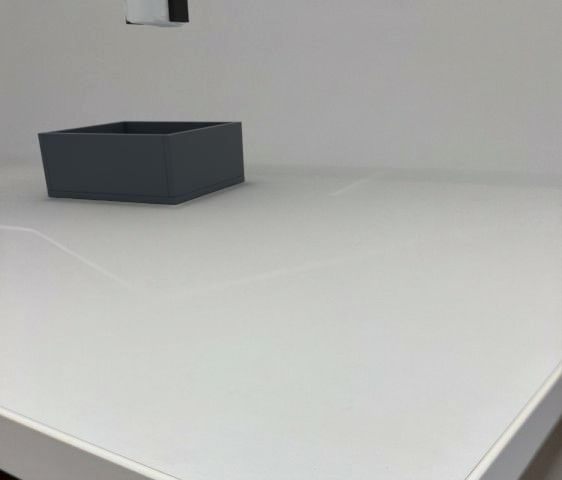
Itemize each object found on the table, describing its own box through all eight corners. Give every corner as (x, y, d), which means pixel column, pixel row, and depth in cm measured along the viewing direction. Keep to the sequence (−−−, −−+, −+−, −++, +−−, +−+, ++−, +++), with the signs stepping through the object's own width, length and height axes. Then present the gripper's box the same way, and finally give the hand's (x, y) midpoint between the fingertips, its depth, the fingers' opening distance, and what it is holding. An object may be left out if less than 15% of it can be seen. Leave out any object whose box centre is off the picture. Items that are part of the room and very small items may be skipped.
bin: (48, 196, 89) (37, 133, 86) (130, 175, 103) (123, 120, 100) (175, 204, 81) (168, 135, 78) (244, 181, 95) (241, 121, 92)
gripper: (234, -253, 66) (245, 20, 75) (86, -218, 73) (113, 27, 83) (192, -284, 59) (209, 18, 69) (35, -242, 67) (71, 25, 77)
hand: (157, 22), depth 76 cm, fingers closed on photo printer, 5 cm apart
